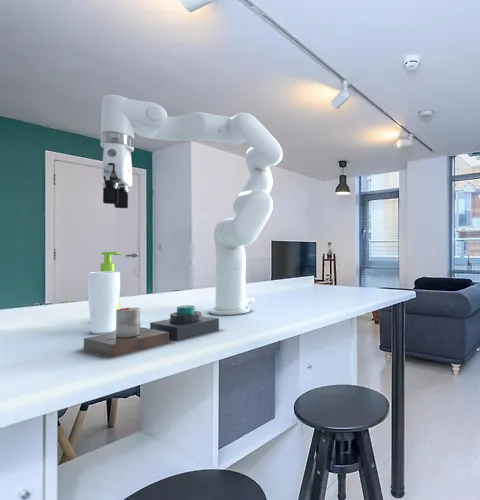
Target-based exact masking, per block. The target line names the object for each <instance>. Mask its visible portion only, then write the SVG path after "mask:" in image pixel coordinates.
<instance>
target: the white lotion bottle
mask: <svg viewBox="0 0 480 500" xmlns="http://www.w3.org/2000/svg"><path fill="white" fill-rule="evenodd" d="M86 281H87V283H86V285H87V298H88V299H87V300H88V308H89V309H88V311H89V320H90V332H91V333H92V334H96V335H97V334H99V335H102V334H109V333H114V332H116V310H117V309H118V304H119V295H120V293H121V271H106V272H101V271H90V272H89V271H88V272H87V280H86ZM120 296H121V295H120Z"/></svg>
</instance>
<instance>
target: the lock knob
mask: <svg viewBox="0 0 480 500" xmlns="http://www.w3.org/2000/svg"><path fill="white" fill-rule="evenodd" d="M140 327H141V307H122V308H119V309H117V310H116V330H115V332H116V337H132V336H137V335H139V334H140Z"/></svg>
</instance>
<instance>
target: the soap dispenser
mask: <svg viewBox="0 0 480 500" xmlns="http://www.w3.org/2000/svg"><path fill="white" fill-rule="evenodd" d="M100 255H101V256H102V255H103V262H102V263H100V272H106V271H115V269H116V264H115V263H113V261H112V255H114V256H122V255H123V253H121V252H118V251H103V252H100ZM115 272H116V271H115ZM120 296H121V295H119V304H118V309H120V306H121V305H120V301H121V299H120V298H121V297H120Z"/></svg>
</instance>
